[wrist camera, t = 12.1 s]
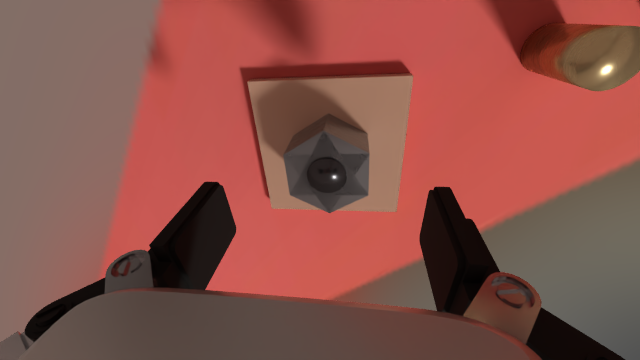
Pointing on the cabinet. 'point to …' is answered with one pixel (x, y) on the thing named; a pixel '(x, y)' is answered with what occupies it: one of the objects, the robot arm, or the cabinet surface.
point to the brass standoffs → (584, 54)
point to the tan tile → (346, 104)
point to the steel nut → (328, 164)
